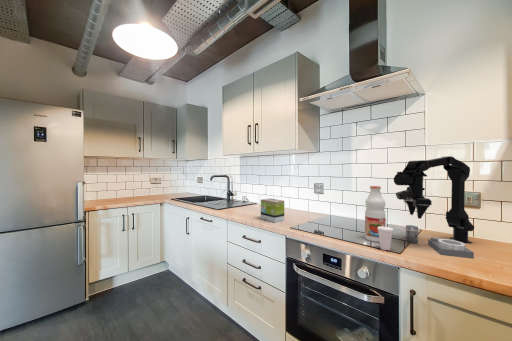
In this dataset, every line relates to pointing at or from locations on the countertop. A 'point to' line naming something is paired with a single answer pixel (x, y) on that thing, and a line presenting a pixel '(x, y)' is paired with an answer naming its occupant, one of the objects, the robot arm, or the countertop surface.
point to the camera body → (450, 247)
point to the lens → (412, 234)
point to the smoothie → (385, 237)
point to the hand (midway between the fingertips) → (415, 216)
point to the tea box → (272, 210)
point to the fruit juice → (374, 214)
